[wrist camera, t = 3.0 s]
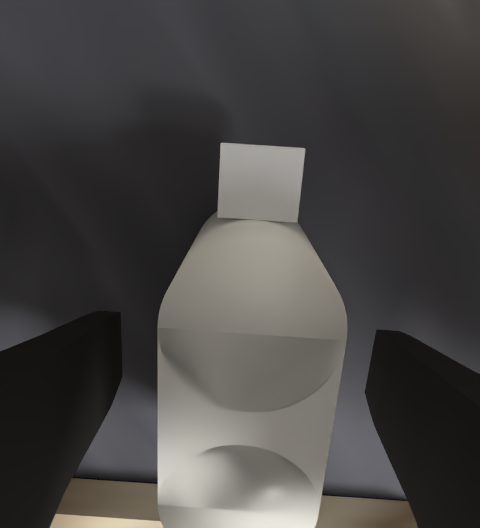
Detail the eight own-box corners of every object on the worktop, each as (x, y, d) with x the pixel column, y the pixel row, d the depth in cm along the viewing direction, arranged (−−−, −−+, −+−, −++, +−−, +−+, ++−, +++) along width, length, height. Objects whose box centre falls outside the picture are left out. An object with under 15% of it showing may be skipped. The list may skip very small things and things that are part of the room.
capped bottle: (322, 148, 11) (377, 155, 6) (289, 426, 14) (308, 573, 9) (196, 140, 11) (156, 140, 6) (188, 419, 14) (157, 562, 9)
